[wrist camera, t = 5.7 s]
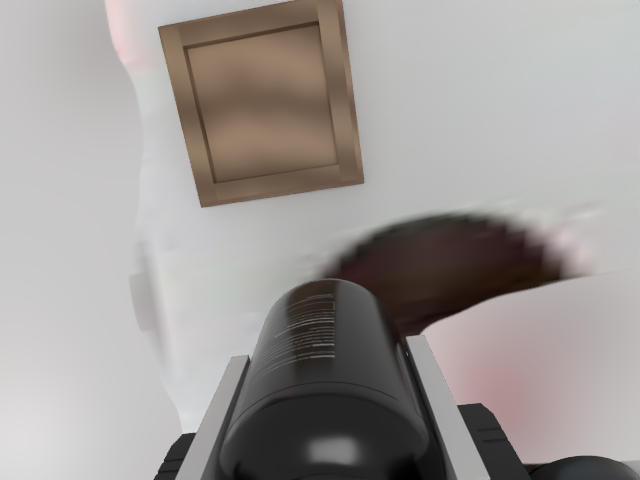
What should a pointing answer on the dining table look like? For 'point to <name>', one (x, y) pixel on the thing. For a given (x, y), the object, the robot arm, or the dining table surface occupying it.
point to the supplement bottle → (330, 395)
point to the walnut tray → (265, 100)
